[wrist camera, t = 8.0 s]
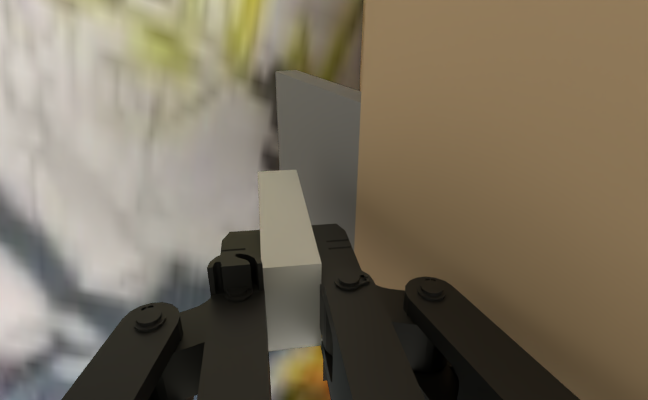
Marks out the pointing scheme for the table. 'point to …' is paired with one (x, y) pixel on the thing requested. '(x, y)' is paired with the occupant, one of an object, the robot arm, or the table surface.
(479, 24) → the lid
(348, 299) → the robot arm
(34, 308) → the table surface
